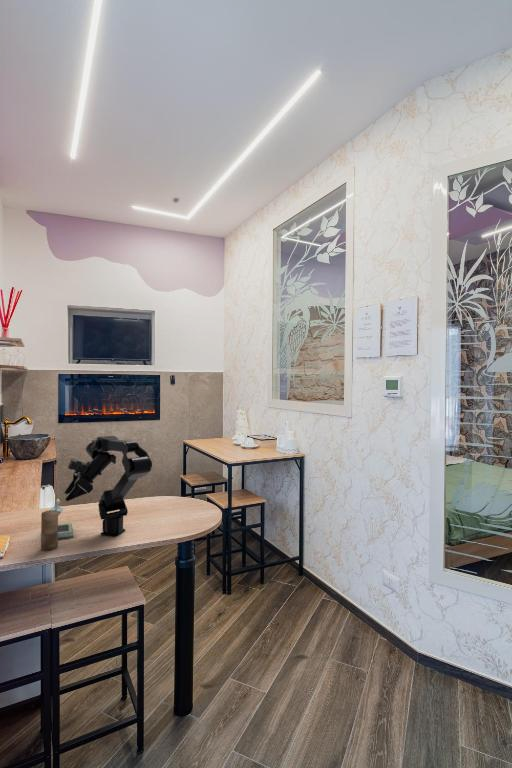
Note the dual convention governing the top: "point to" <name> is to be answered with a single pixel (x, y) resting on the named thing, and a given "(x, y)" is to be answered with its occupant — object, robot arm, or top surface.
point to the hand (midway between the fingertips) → (65, 496)
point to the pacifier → (57, 506)
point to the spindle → (49, 530)
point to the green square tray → (65, 531)
